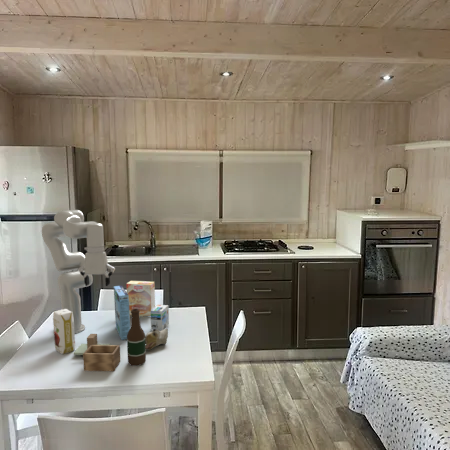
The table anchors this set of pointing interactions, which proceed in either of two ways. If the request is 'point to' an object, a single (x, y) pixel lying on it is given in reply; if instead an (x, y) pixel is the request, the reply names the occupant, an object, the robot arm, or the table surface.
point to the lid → (90, 341)
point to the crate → (101, 358)
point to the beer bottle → (136, 341)
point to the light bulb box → (159, 317)
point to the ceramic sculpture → (155, 338)
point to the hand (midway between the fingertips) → (97, 285)
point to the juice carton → (64, 331)
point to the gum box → (122, 311)
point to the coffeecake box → (141, 296)
